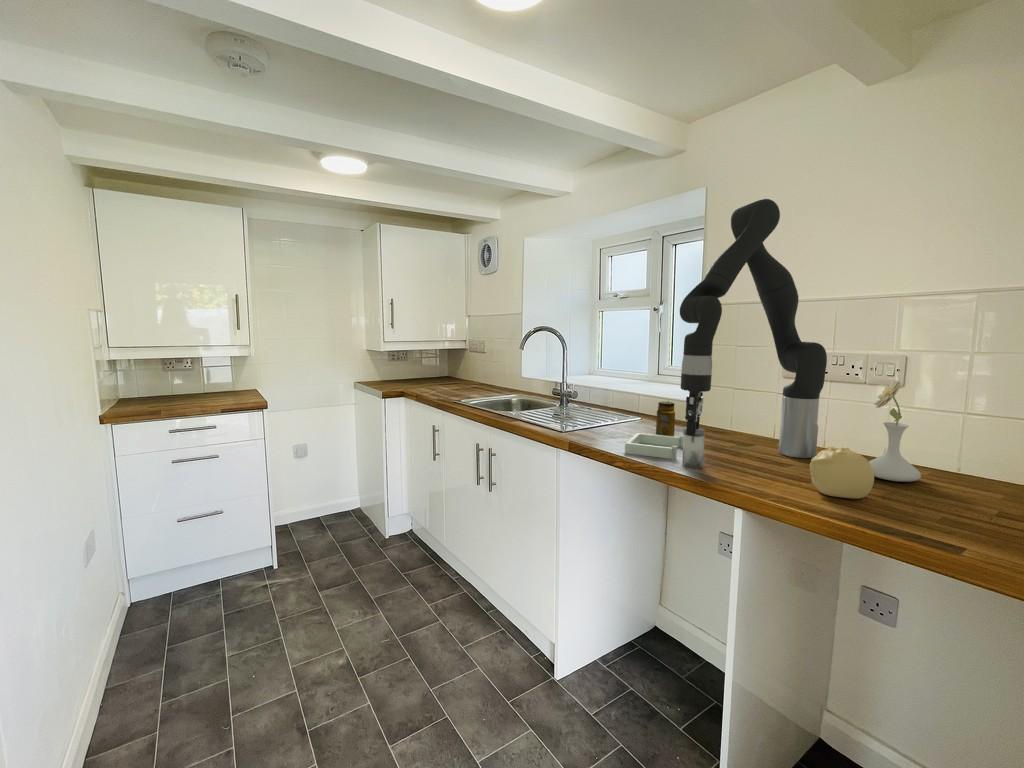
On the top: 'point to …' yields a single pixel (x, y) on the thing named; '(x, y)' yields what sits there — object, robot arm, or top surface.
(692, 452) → the shaker
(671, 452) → the tray
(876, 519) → the top surface
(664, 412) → the condiment
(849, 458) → the cream rounded lump
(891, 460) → the flower in vase
